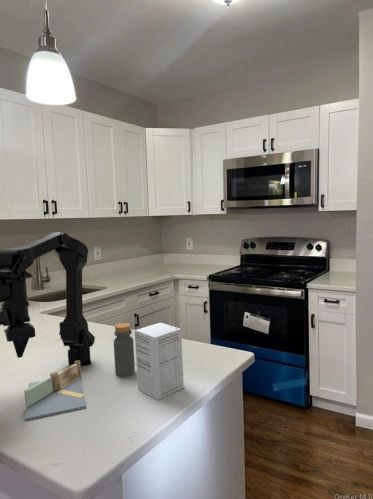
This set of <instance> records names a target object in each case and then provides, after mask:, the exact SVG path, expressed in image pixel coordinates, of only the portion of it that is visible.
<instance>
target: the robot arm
mask: <svg viewBox="0 0 373 499" xmlns="http://www.w3.org/2000/svg"><path fill="white" fill-rule="evenodd" d="M52 251H54V253H56V254H57V255H59V259H60V260H59V261H60V263H61V266H62V267H63V268H64V270H65V307H66V308H65V309H66V312H65V313H66V314H65V317H64V319H63V320H62V321H60V322H59V324H58V326H59V332H58V333H59V334H58V335H59V337H60V339H61V341H62V344H63V346H64V347H69V349H67V362H68V365H69V367H70V366H71V365H73V364H75V361H77V360H79V361H80V367H81V368H82V367H85V366H92V360H91V348H90V347H93V345H94V344H95V342H96V340H95V339H96V337H95V336H94V334H93V333H91V331H90V330H89V324H88V321H87V319H86V317H85V316H84V315H83V314H84V313H83V269H84V267H85V266H86V265H87V262H88V256H89V254H88V253H89V248H88V246H86V243H84V242H82V241H80V240H78V239H76V238H74V237H72V236H70V235H69V234H67V233H66V232H63V231H61V232H60V231H59V232H57V231H56V232H55V231H54V232H51V233H49V234H48V235H45V236H43V237H41V238H39V239H36V240H33V241H32V242H29V243H27V244H25V245H22V246H15V247H8V248H2V249H0V303H1V307H0V326H3V327H6V329H3V331H4V335H5V339H6V342H9V343H10V342H12V343H13V344H12V345H13V347H14V350H15V353H16V354H15V355H16V357H17V358H18V359H20V358H23V356H24V353H25V351H26V347H27V345H28V343H29V339H32V338H35V337H36V328H35V327H34V324H32V323H30V322H31V317H30V314H29V307H30V302H29V300H28V299H29V298H28V288H27V287H28V286H27V279H30V278H32V277H33V275H32V274H31V273H30V272H29V271H27V270H28V269H29V268H30V267H32V265H33V264H34V262H35V260H36V259H38V258H40V257H42V256H44V255H46V254H49V253H50V252H52Z"/></svg>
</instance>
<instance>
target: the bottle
mask: <svg viewBox="0 0 373 499" xmlns="http://www.w3.org/2000/svg"><path fill="white" fill-rule="evenodd" d="M131 326H132V325H131V323H128V322H122V323H121V322H120V323H117V324H115V325H114V328H115V330H114V336H115V338H114V339H113V352H114V353H113V354H114V372H115V376H116V377H118V378H128V377H131V376H133V375H134V374H136V372H135V371H136V368H135V367H136V366H135V364H136V363H135V348H134V347H135V345H134V338H133V337H132V336H131V335H132V334H133V333H132V331H133V330H132V329H131Z"/></svg>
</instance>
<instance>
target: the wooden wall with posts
mask: <svg viewBox="0 0 373 499" xmlns="http://www.w3.org/2000/svg"><path fill="white" fill-rule="evenodd" d="M81 368H82V366H81V367H80V361H79V360H77V361H75V364H73V365H71V366H70V365H69V366H68V367H66V368H64V369H62V370H61V371H59V372H52V373H50V375H49V377H52V387H53V392H57V391H59V388H61V387H63V386H65V385H66V384H68V383H70V382H71V381H73V380H74V379H76V378H78V377H80V376H81V377H80V379H81V380H82V371H81V370H82V369H81Z"/></svg>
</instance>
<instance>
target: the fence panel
mask: <svg viewBox="0 0 373 499" xmlns="http://www.w3.org/2000/svg"><path fill="white" fill-rule="evenodd" d="M39 381H40V382H39V383H37V384H35V385H33V386H31V387H30V388H29V387H27V388H26V389H24V390H23V392H24V393H23V394H24V406H25V407H26V406H30V405H32V404H33V403H35V402H37V401H38V400H40V399H42V398H43V397H45V396H47V395H48V394H50V393H51V392H53V387H52V377H50V376H47V377H46V378H44V379H42V380H39Z"/></svg>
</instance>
